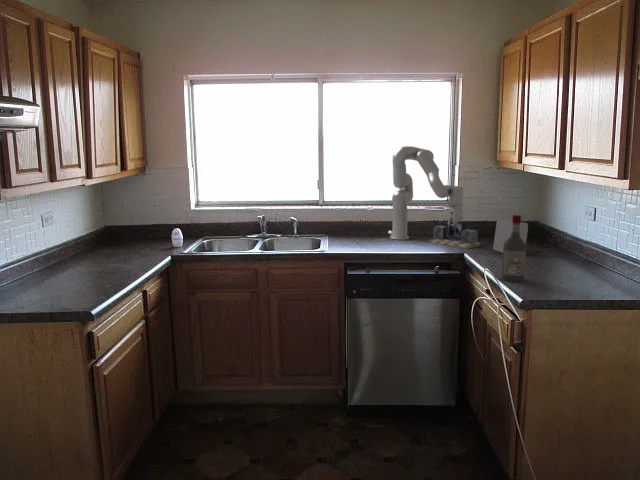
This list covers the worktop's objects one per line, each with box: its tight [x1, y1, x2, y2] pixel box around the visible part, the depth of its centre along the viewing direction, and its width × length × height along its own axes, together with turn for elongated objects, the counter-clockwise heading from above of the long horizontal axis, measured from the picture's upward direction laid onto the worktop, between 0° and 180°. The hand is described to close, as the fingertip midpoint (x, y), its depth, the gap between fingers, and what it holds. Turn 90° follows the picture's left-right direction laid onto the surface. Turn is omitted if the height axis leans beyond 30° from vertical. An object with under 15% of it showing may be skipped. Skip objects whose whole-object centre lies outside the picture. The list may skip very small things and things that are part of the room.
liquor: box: [501, 214, 527, 282], centre depth 252 cm, size 9×9×30 cm
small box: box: [445, 220, 466, 240], centre depth 340 cm, size 11×6×10 cm, turn 58°
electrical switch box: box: [492, 218, 529, 254], centre depth 318 cm, size 15×15×20 cm
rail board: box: [429, 225, 481, 249], centre depth 341 cm, size 28×14×10 cm, turn 45°
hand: (454, 234), depth 341 cm, fingers closed on small box, 7 cm apart
